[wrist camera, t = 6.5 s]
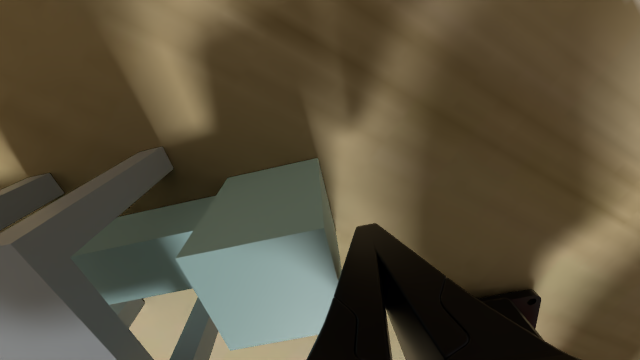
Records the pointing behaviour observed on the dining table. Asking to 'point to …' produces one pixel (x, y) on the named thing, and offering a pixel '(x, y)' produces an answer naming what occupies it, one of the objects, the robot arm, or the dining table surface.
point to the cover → (76, 270)
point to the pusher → (231, 255)
